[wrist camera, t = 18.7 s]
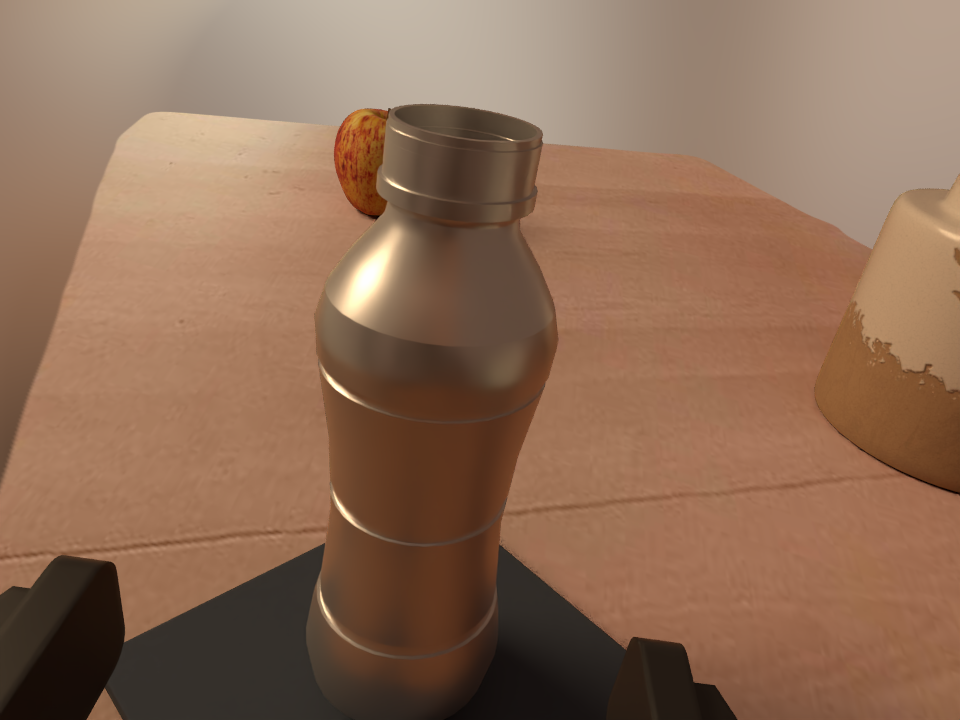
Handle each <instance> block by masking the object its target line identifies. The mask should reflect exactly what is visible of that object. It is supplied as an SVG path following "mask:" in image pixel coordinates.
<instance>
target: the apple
mask: <svg viewBox="0 0 960 720" xmlns="http://www.w3.org/2000/svg"><path fill="white" fill-rule="evenodd" d="M390 110H391V109H390V108H389V109H388V111H385V110H380V109H360V110H357V111H355V112H353V113H351V114H350V115H349V116H348V117H347V118H346V119H345V120H344V121H343V123H342V125H341V126H340V128H339V130H338V133H337V137H336V141H335V147H334V161H335V168H336V172H337V175H338V178H339V181H340V184H341V186H342V188H343V191H344V193H345V195H346V197H347V199H348V200H349V202H350V203H351V204H352V205H353V206H354V207H355V208H356V209H358V210H360V211H362V212H363V213H365V214H368V215H382V214H383V213H384V212H385V209H386V205H387V200H385V199H384V198H382V197H381V196H380V195H379V193H378V192H377V189H376V182H377V171H378V168H379V166H380V165H382V164H383V153H384V142H385V131H386V121H387V119H388V117H389V111H390Z"/></svg>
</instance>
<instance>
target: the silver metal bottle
mask: <svg viewBox="0 0 960 720" xmlns="http://www.w3.org/2000/svg"><path fill="white" fill-rule="evenodd" d="M542 136H543V133H542V131H541V130H540V129H539V128H538V127H536V126H535V125H533V124H531V123H528V122H526V121H523V120H520V119H517V118H514V117H511V116H507V115H503V114H500V113H495V112H491V111H486V110H480V109H475V108H468V107H460V106H450V105H436V104H413V105H404V106H399V107H395V108H393V109H391V110H390V111H389V117H388V119H387V121H386V131H385V142H384V153H383V164H382V165H380V166H379V168H378V171H377V182H376V189H377V192H378V193H379V195H380V196H381V197H382V198H384V199H385V200H387V205H386V209H385V212H384V213H383V214H382V215H381V216H380V217H379V218H378V219H377V220H376V221H375V222H374V223H373V224H372V225H371V226H370V227H369V228H368V229H367V230H366V231H365V232H364V233H363V234H362V235H361V236H360V237H359V238H358V240H357V241H356V242H355V243H354V244H353V245H352V246H351V247H350V248H349V250H348V251H347V252H346V253H345V255H344V256H343V257H342V259H341V260H340V261H339V262H338V264H337V265H336V266H335V268H334V269H333V270H332V271H331V273H330V274H329V276H328V278H327V280H326V283H325V285H324V288H323V291H322V294H321V297H320V299H319V302H318V305H317V308H316V311H315V313H314V319H315V333H316V353H317V356H318V365H319V372H320V379H321V386H322V393H323V400H324V407H325V414H326V421H327V428H328V435H329V467H330V500H331V508H330V515H329V522H328V528H327V535H326V542H325V549H324V556H323V562H322V569H321V571H320V574H319V577H318V580H317V582H316V585H315V589H314V593H313V597H312V601H311V606H310V611H309V616H308V621H307V625H306V644H307V648H308V652H309V656H310V660H311V664H312V668H313V672H314V675H315V679H316V682H317V684H318V686H319V687H320V689H321V691H322V693H323V694H324V696H325V697H326V698H327V699H328V700H329V701H330V702H331V704H332V705H333V706H334V707H335V708H337V709H338V710H339V711H341V712H342V713H344V714H345V715H347V716H348V717H349V718H352V719H354V720H444V719H446V718H448V717H450V716H451V715H453V714H455V713H456V712H457V711H459V710H460V709H461V708H462V707H463V706H465V705H466V704H467V703H468V702H469V701H470V699H471V698H472V697H473V696H474V694H475V693H476V692H477V690H478V688H479V686H480V684H481V682H482V680H483V678H484V676H485V674H486V672H487V670H488V668H489V666H490V663H491V661H492V659H493V657H494V655H495V651H496V646H497V641H498V598H497V588H496V577H497V565H498V553H499V541H500V529H501V520H502V516H503V512H504V509H505V505H506V500H507V496H508V493H509V489H510V485H511V482H512V478H513V474H514V470H515V466H516V462H517V458H518V455H519V453H520V450H521V447H522V445H523V442H524V440H525V437H526V434H527V432H528V429H529V426H530V424H531V421H532V419H533V416H534V413H535V411H536V408H537V406H538V403H539V400H540V398H541V395H542V392H543V390H544V387H545V382H546V381H547V379H548V378H549V374H550V370H551V367H552V363H553V360H554V356H555V353H556V349H557V345H558V331H557V322H556V312H555V306H554V302H553V299H552V296H551V294H550V291H549V289H548V286H547V284H546V281H545V279H544V276H543V274H542V271H541V269H540V266H539V265H538V263H537V261H536V259H535V257H534V255H533V253H532V251H531V250H530V248H529V246H528V244H527V242H526V240H525V238H524V236H523V234H522V233H521V231H520V218H523V217H525V216H528V215H529V214H530V213H532V212H533V210H534V207H535V202H536V197H537V192H538V191H537V187H536V186H535V180H536V175H537V170H538V165H539V160H540V155H541V150H542V145H543V142H542Z"/></svg>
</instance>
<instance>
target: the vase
mask: <svg viewBox="0 0 960 720" xmlns="http://www.w3.org/2000/svg"><path fill="white" fill-rule="evenodd" d="M815 399H816V402H817V404H818V407H819V408H820V410H821V412H822V413H823V415H824V416H825V417H826V418H827V420H828V421H829V422H830V423H831V424H832V425H833V426H834V427H835V428H836V429H837V430H838V431H839V432H840V433H841V434H843V435H844V436H845V437H846V438H848V439H849V440H850V441H851V442H853V443H854V444H856V445H857V446H858V447H860V448H861V449H863V450H864V451H866V452H867V453H869V454H871V455H872V456H874V457H876V458H877V459H879V460H881V461H883V462H884V463H886V464H888V465H890V466H892V467H894V468H896V469H898V470H900V471H902V472H904V473H906V474H909V475H911V476H913V477H916V478H918V479H921V480H923V481H926V482H928V483H931V484H934V485H936V486H939V487H942V488H946V489H949V490H952V491H956V492H959V493H960V174H959V175H958V177H957V179H956V180H955V182H954V184H953V186H952V187H951V189H950V190H946V189H916V190H910V191H907V192H905V193H903V194H901V195H900V196H899V197H898V198H897V199H896V200H895V202H894V204H893V206H892V207H891V209H890V211H889V214H888V216H887V218H886V220H885V222H884V225H883V227H882V229H881V231H880V234H879V236H878V238H877V241H876V243H875V245H874V248H873V250H872V252H871V254H870V257H869V259H868V261H867V264H866V266H865V268H864V271H863V273H862V275H861V278H860V280H859V282H858V284H857V287H856V289H855V291H854V294H853V296H852V298H851V301H850V303H849V305H848V308H847V310H846V312H845V314H844V317H843V319H842V321H841V324H840V326H839V328H838V331H837V333H836V335H835V338H834V340H833V342H832V344H831V347H830V349H829V351H828V354H827V356H826V358H825V361H824V363H823V365H822V368H821V370H820V372H819V375H818V378H817V380H816V384H815Z"/></svg>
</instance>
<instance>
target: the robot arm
mask: <svg viewBox="0 0 960 720" xmlns="http://www.w3.org/2000/svg"><path fill="white" fill-rule="evenodd" d="M124 636H125V625H124V618H123V611H122V604H121V597H120V590H119V583H118V576H117V570H116V567H115V565H114V563H112V562H109V561H102V560H94V559H87V558H80V557H73V556H66V555H61V556H58V557H57V558H55V559H54V560H53V561H52V562H51V563H50V564H49V565H48V566H47V568H46V569H45V570H44V572H43V573H42V574H41V575H40V577H39V578H38V579H37V581H36V582H35V583H34V585H33V586H32V587H31V589H30V588H22V587H15V586H12V587H11V588H10V589H8V590H7V591H5V592H4V593H2V594H1V595H0V720H86V719H87V718H88V716H89V714H90V712H91V711H92V709H93V707H94V705H95V703H96V702H97V700H98V698H99V696H100V695H101V693H102V691H103V689H104V687H105V686H106V684H107V682H108V680H109V679H110V677H111V675H112V673H113V671H114V669H115V667H116V665H117V663H118V660H119V658H120V654H121V651H122V647H123V643H124ZM606 720H737V718H736V716H735V715H734V713H733V712H732V710H731V709H730V707H729V706H728V704H727V703H726V701H725V700H724V698H723V697H722V695H721V694H720V692H719V691H718V689H717V688H716V686H715V685H708V684H701V683H694V682H693V678H692V673H691V669H690V665H689V661H688V656H687V653H686V650H685V648H684V646H683V645H682V644H680V643H674V642H667V641H660V640H653V639H646V638H638V637H633V638H632V639H631V641H630V642H629V645H628V648H627V650H626V653H625V656H624V659H623V661H622V664H621V667H620V669H619V672H618V675H617V678H616V680H615V683H614V686H613V689H612V691H611V694H610V697H609V701H608V707H607V715H606Z"/></svg>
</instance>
